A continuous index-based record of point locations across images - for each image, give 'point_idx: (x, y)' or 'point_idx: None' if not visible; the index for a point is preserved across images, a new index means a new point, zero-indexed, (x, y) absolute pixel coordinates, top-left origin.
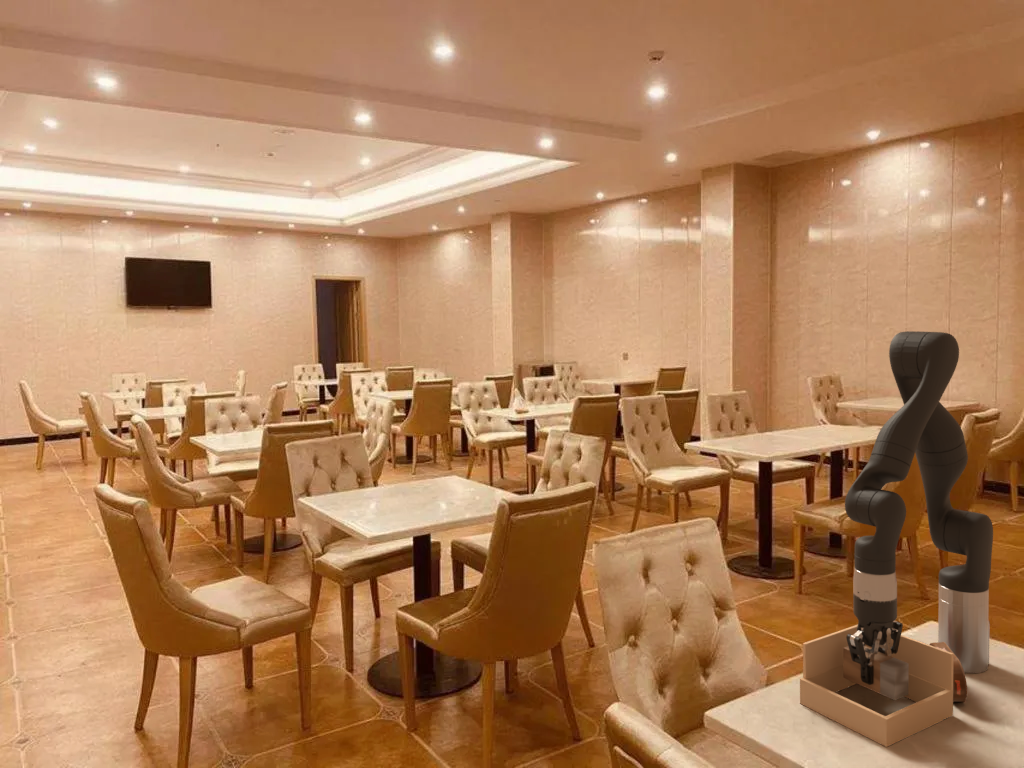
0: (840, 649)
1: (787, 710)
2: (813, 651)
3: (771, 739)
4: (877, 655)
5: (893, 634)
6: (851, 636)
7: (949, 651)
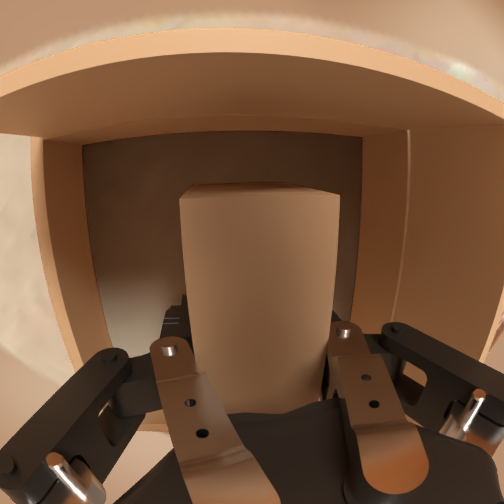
0: (282, 96)
1: (24, 153)
2: (23, 112)
3: None
4: (274, 383)
5: (437, 418)
6: (13, 500)
7: (501, 327)
